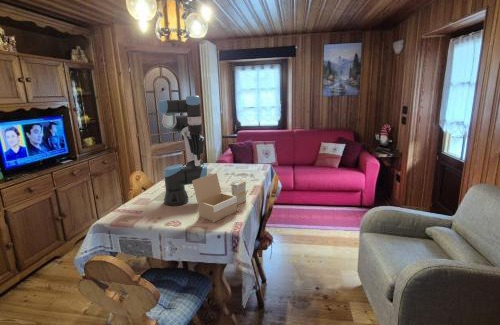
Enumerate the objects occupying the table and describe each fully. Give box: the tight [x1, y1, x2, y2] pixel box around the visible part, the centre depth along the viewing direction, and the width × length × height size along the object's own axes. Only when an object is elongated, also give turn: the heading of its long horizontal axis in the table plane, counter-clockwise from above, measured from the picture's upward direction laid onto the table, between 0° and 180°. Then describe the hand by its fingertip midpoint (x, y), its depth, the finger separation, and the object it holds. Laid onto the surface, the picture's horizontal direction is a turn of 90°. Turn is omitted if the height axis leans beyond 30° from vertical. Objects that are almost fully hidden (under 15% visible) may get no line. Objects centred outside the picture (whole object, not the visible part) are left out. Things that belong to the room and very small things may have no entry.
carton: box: [197, 192, 238, 223], centre depth 158 cm, size 12×18×9 cm
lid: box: [192, 172, 222, 203], centre depth 161 cm, size 12×18×1 cm
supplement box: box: [230, 180, 247, 206], centre depth 174 cm, size 8×5×13 cm, turn 141°
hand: (197, 165), depth 162 cm, fingers closed
